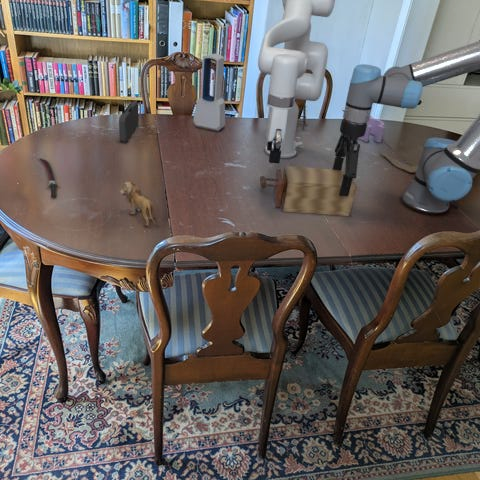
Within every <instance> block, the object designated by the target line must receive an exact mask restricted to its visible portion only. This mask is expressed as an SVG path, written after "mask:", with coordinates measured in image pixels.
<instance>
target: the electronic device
mask: <svg viewBox="0 0 480 480" xmlns="http://www.w3.org/2000/svg"><path fill="white" fill-rule="evenodd" d="M212 61H214V62H215V66H214V83H213V84H214V85H213V95H210V87H211V72H212V71H211V69H212ZM224 63H225V56H223V55H221V54H219V53H209V54H207V55H205V56H202V63H201V64H202V65H201V66H202V67H201V87H200V98H198V99H197V100H196V103H195V108H194V115H193V125H194V126H195V128H201V129H205V130H209V131H214V132H219V131H220V130H222V129H223V128H224V127H225V126H226V101H225V100H224V98H223V97H222V92H223V77H224V65H225V64H224Z"/></svg>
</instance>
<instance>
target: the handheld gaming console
mask: <svg viewBox="0 0 480 480" xmlns="http://www.w3.org/2000/svg"><path fill="white" fill-rule="evenodd" d="M138 126H139V103H138V101H131V102H130V103H129V104H128V105H127V107H126V108H125V109H124V110H123V112H122V113H121V114H120V116H119V117H118V131H119V133H118V134H119V141H120V142H121V143H127V142H128V141H129V139H130V138H131V136H132V135H133V134H134V132H135V131H136V129H137V128H138Z"/></svg>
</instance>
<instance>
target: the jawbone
mask: <svg viewBox="0 0 480 480" xmlns="http://www.w3.org/2000/svg"><path fill="white" fill-rule="evenodd" d="M380 155H381V156H382V157H384V158H385V159H387V161H389V162H390V163H391V164H392V165H393V166H394V167H395V168H398V169H400V170H403V171H406V172H407V173H411V174H414V173H415V174H416V171H417V168H418V165H419V164H417V165H407V164H404V163H403V162H402V161H399V160H398V159H397V158H394V159H393V158H391V157H390V156H389V155H387V154H386V152H381V153H380Z"/></svg>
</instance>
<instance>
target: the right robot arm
mask: <svg viewBox="0 0 480 480" xmlns="http://www.w3.org/2000/svg"><path fill="white" fill-rule="evenodd" d="M478 70H480V40H478V41H475V42H472V43H468V44H466V45H463V46H459V47H456V48H453V49H451V50H448V51H444V52H442V53H439V54H436V55H433V56H430V57H426V58H424V59H421V60H418V61H415V62H412V63H409V64H406V65H403V66H392V67H389V68H388V69H386V70H385V72H384V73H383V75H382V69H381V68H380V67H378V66H376V65H371V64H365V63H361V64H357V65H356V66H355V67H354V68H353V70H352V75H351V78H350V82H349V86H348V91H347V96H346V101H345V106H344V107H343V108H342V112H343V114H342V119H341V121H340V127H339V132H340V133H341V134H340V135H339V138H338V141H337V143H336V146H335V148H334V156H335V157H334V160H333V165H332V169H331V170H342V169H343V164H344V160H345V168H344V169H345V170H344V171H345V174H344V175H343V180H342V185H341V189H340V193H339V195H340V196H348V195H349V191H350V187H351V183H352V180H354V179H356V178H357V172H358V163H359V155H360V149H361V144H360V143H359V142H358V140H359V139H358V138H359V137H363V136H364V135H365V132H366V128H367V122H368V121H369V117H370V115H371V113H372V109H373V104H376V105H384V106H388V107H389V106H390V107H395V108H401V109H409V110H413V109H416V107H418V105H419V103H420V101H421V97H422V93H423V88H424V87H426V86H430V85H434V84H437V83H439V82H443V81H445V80H449V79H453V78H455V77H458V76H462V75H466V74H468V73H473V72H475V71H478ZM417 165H418V168H417V171H416V172H415V175H414V176H413V177H414V178H413V180H412V181H411V182H410V184H409V185H408V187H407V188H406V189H405V190H404V192H403V194H402V195H401V196H402V197H401V201H402V203H403V205H404V206H405V207H407V208H408V209H410V210H412V211H414V212H417V213H420V214H424V215H428V216H441V215H444V214H446V213H447V212H448V210H449V208H450V206H451V207H455V208H457V209H458V208H459V207H460V206H459V204H457V203H454V202H455V201H458V200H460V199H463V198H464V197H466V196H467V194H469V192H470V191H471V189H472V187H473V182H474V181H473V179H474V178H475V176H476V175H477V174H479V172H480V113H479V114H478V115H477V116H476V118H475V119H474V120H473V121H472V122H471V124H470V125H469V126H468V127H467V129H466V130H465V131H464V133H462V135H461V136H460V137H459V138H458V140H452V139H448V138H443V137H430V138H427V140H426V141H425V144H424V146H423V149H422V152H421V156H420V159H419V162H418V164H417Z"/></svg>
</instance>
